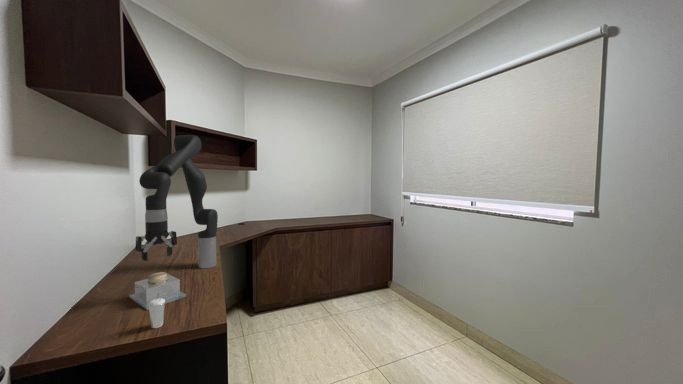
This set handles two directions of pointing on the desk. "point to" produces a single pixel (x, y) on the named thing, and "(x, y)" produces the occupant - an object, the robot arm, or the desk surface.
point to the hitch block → (157, 291)
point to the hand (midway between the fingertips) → (157, 258)
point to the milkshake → (156, 312)
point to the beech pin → (157, 277)
